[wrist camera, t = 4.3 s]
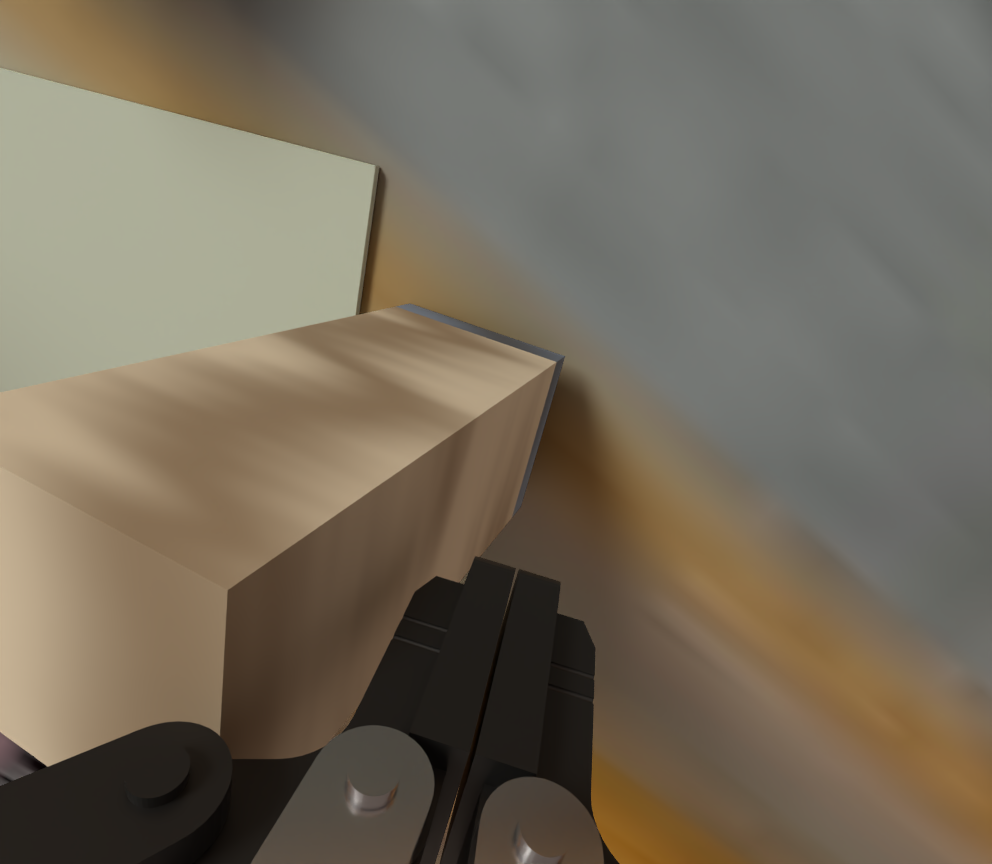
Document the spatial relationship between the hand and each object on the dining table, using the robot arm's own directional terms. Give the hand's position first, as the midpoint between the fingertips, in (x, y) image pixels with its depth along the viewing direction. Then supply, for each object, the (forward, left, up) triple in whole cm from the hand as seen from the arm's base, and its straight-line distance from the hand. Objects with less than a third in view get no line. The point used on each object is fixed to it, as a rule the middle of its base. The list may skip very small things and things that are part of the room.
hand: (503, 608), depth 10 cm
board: (-13, 0, -9) cm, 16 cm away
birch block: (-3, 0, -8) cm, 9 cm away
